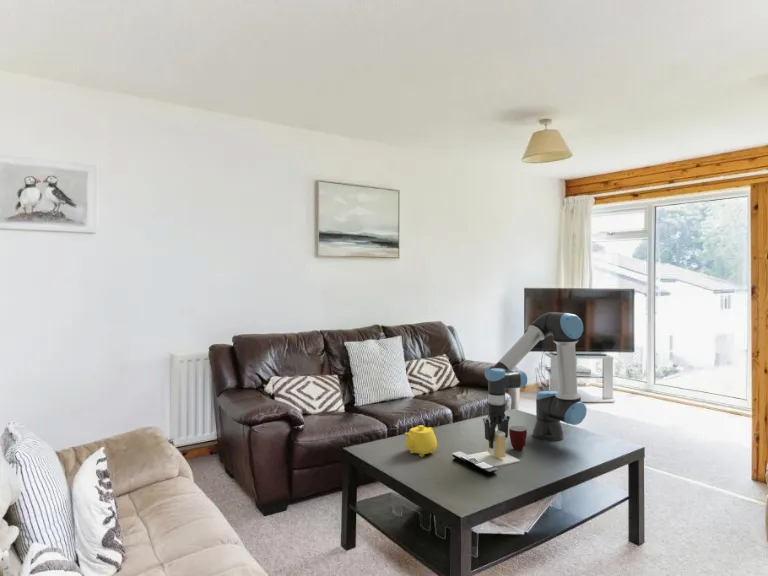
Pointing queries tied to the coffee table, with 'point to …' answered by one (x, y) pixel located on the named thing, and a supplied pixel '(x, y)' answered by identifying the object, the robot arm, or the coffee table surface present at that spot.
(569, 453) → the coffee table surface
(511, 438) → the mug
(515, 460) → the mat
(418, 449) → the teapot
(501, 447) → the slab
